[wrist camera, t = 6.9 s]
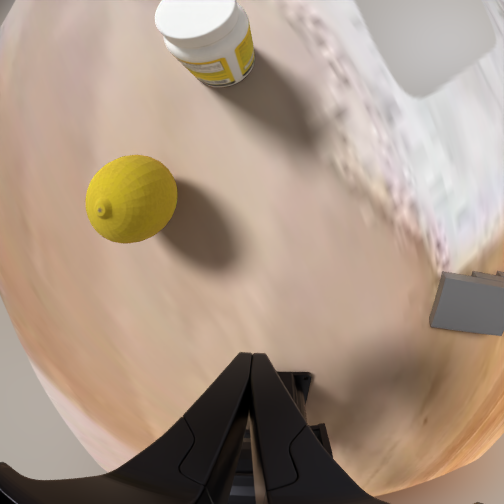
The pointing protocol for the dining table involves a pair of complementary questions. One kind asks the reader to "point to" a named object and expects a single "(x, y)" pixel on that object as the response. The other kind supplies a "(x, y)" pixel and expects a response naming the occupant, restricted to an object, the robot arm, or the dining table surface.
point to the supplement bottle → (208, 38)
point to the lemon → (131, 199)
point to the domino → (469, 304)
